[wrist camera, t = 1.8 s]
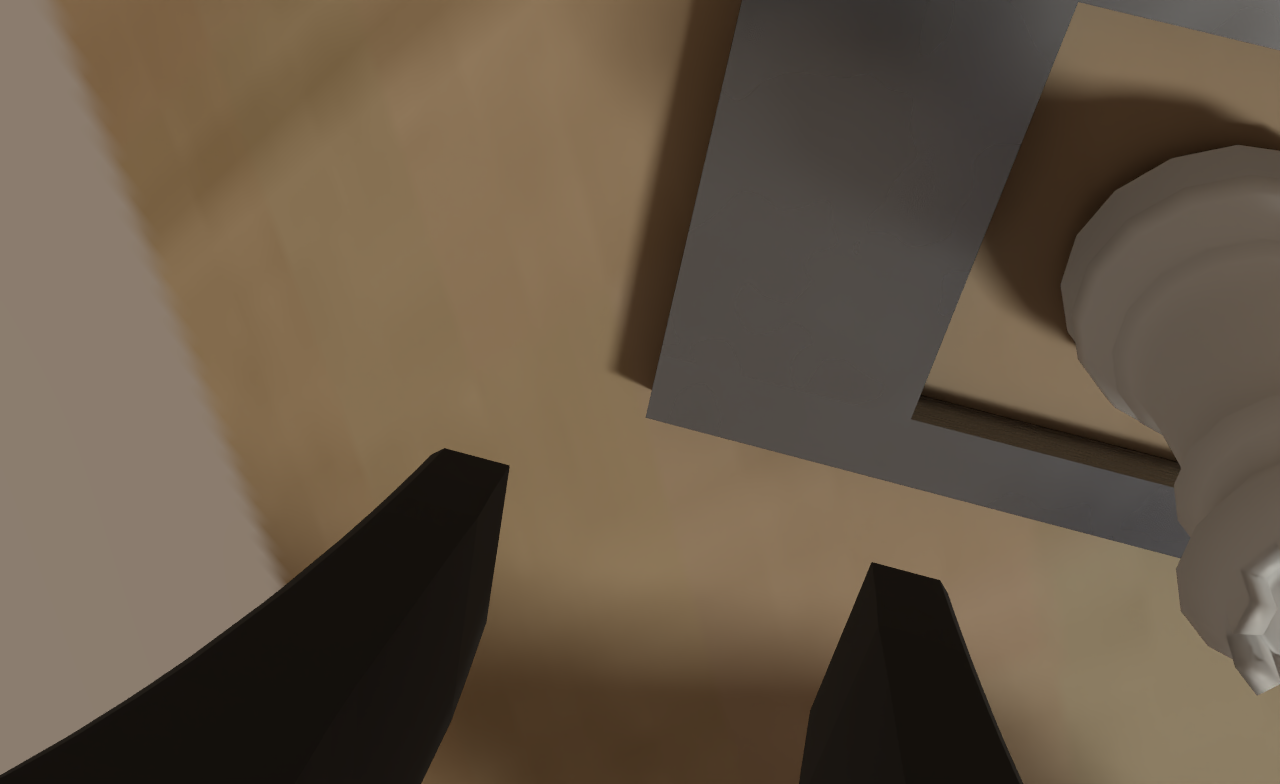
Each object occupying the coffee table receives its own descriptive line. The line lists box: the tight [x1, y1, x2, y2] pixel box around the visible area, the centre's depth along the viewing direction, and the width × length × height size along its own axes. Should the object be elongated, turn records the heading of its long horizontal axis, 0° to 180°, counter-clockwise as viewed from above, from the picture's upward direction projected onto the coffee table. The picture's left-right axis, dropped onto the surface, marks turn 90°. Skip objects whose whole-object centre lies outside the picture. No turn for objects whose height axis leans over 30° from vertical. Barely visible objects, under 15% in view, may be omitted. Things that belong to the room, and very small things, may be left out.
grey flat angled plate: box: [646, 0, 1280, 558], centre depth 18 cm, size 10×16×1 cm, turn 80°
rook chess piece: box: [1060, 145, 1280, 695], centre depth 15 cm, size 4×4×8 cm
